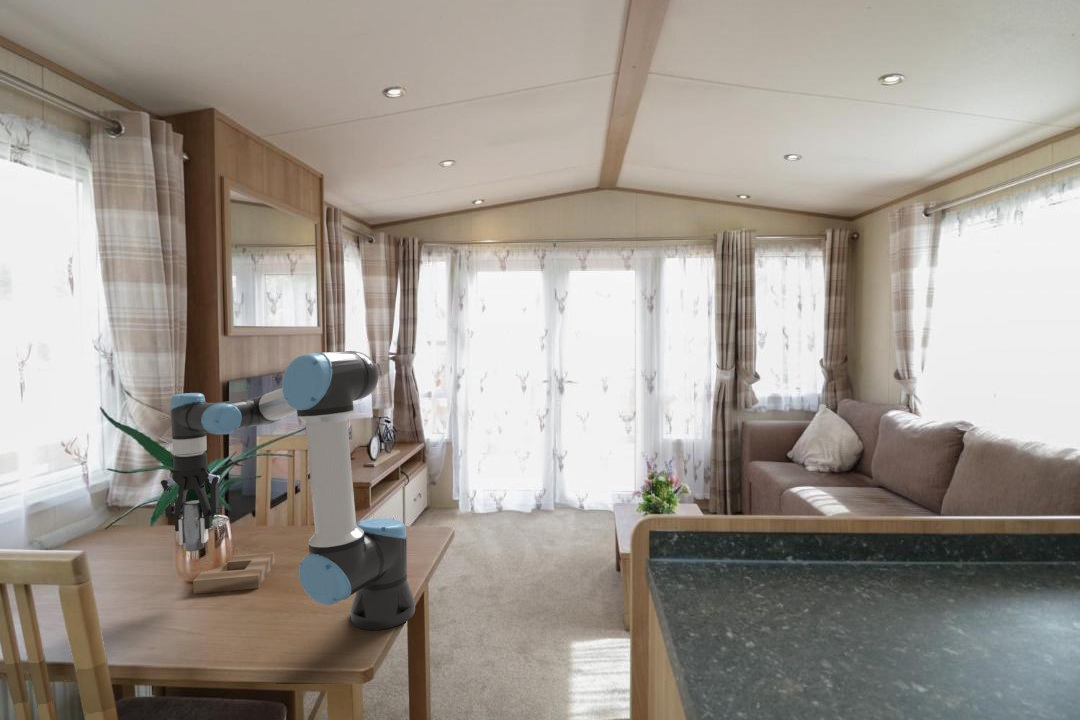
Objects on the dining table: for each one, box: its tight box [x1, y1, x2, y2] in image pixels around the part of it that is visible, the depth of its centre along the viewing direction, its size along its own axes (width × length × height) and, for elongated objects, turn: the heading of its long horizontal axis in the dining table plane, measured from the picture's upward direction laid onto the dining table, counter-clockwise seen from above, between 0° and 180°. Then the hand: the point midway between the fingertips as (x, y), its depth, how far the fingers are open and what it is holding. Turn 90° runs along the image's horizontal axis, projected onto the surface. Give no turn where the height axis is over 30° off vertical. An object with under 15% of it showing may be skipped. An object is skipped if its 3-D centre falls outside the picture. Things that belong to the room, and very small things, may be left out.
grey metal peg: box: [182, 499, 205, 553], centre depth 147 cm, size 4×4×12 cm
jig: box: [192, 551, 276, 595], centre depth 158 cm, size 16×16×4 cm
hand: (194, 541), depth 147 cm, fingers closed on grey metal peg, 4 cm apart
